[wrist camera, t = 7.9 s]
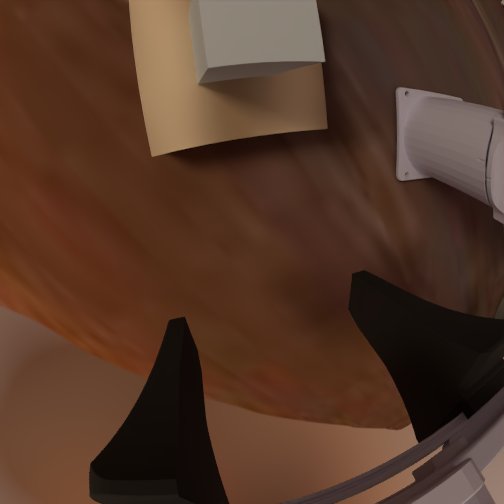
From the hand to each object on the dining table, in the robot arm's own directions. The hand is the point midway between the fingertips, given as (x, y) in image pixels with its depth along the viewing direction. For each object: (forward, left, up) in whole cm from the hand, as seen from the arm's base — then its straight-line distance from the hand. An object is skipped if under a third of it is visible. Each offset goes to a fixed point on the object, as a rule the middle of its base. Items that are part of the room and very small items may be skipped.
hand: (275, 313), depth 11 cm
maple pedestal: (-1, -11, -10) cm, 15 cm away
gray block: (-1, -11, -7) cm, 13 cm away
